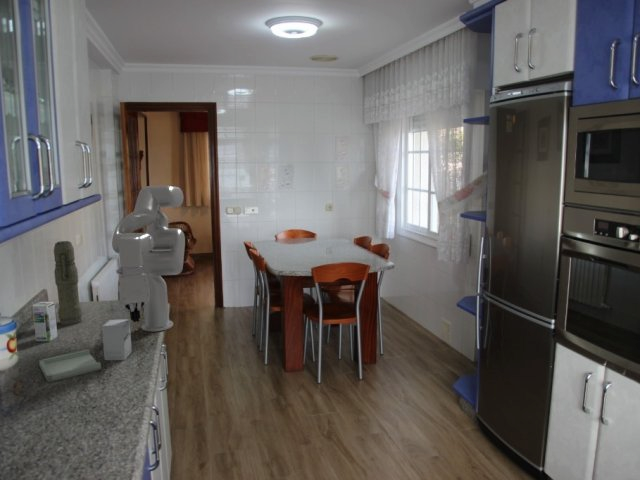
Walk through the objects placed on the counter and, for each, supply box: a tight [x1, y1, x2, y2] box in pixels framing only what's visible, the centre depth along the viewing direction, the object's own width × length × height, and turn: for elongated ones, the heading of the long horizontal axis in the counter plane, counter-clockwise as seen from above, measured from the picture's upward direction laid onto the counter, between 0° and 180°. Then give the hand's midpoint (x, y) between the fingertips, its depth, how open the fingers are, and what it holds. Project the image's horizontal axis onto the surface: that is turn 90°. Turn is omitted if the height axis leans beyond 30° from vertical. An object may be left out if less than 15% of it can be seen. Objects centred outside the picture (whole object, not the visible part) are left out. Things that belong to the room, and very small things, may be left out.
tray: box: [38, 348, 102, 384], centre depth 175 cm, size 16×16×2 cm
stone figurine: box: [53, 240, 83, 326], centre depth 220 cm, size 9×12×35 cm
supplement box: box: [101, 319, 133, 361], centre depth 184 cm, size 7×7×13 cm
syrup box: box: [32, 301, 58, 342], centre depth 202 cm, size 6×6×14 cm
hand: (135, 320), depth 186 cm, fingers closed
